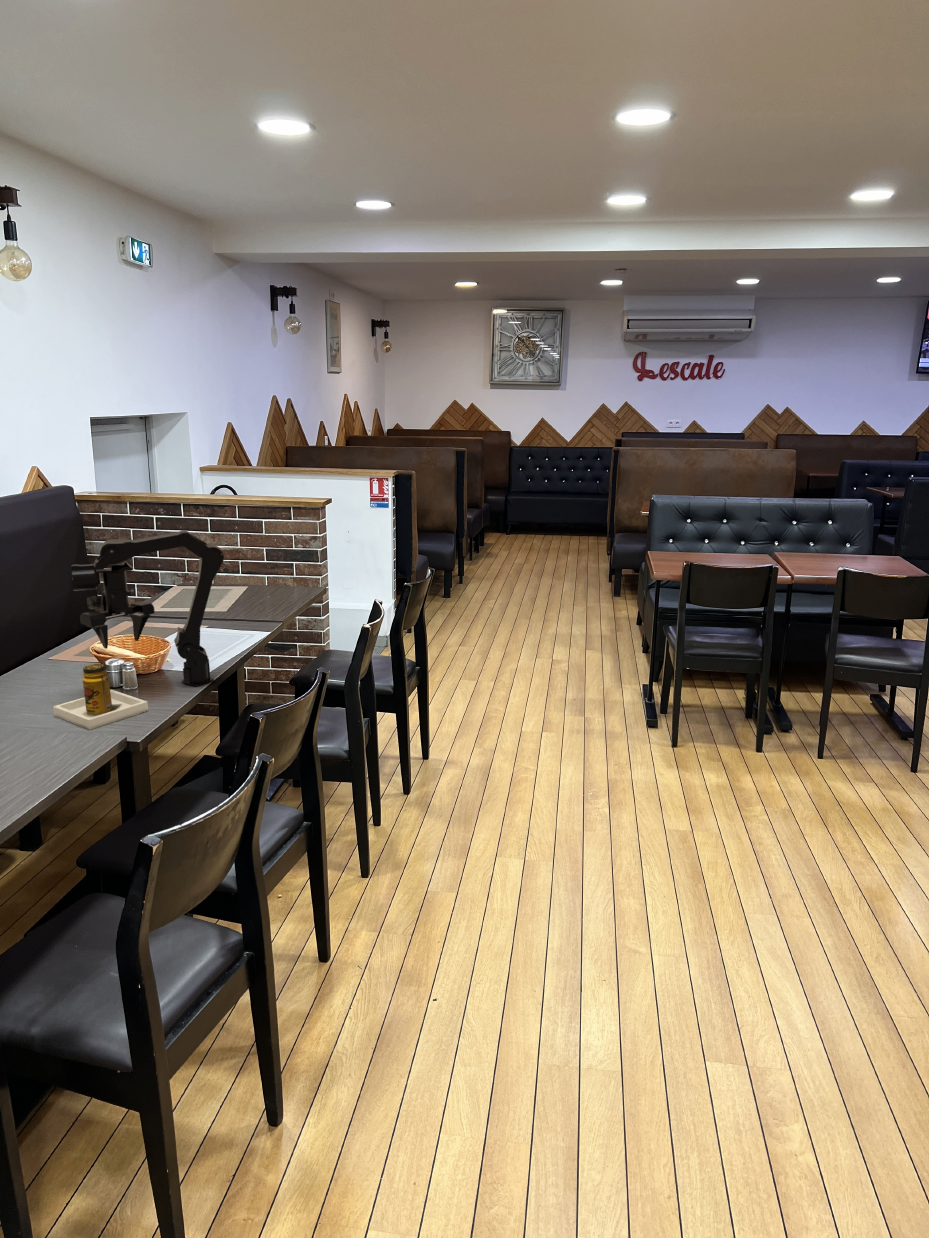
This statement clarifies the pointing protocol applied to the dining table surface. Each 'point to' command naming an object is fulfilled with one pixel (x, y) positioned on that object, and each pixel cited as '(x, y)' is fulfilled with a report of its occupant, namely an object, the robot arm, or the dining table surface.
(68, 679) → the dining table surface
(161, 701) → the dining table surface
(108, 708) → the condiment
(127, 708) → the tray
